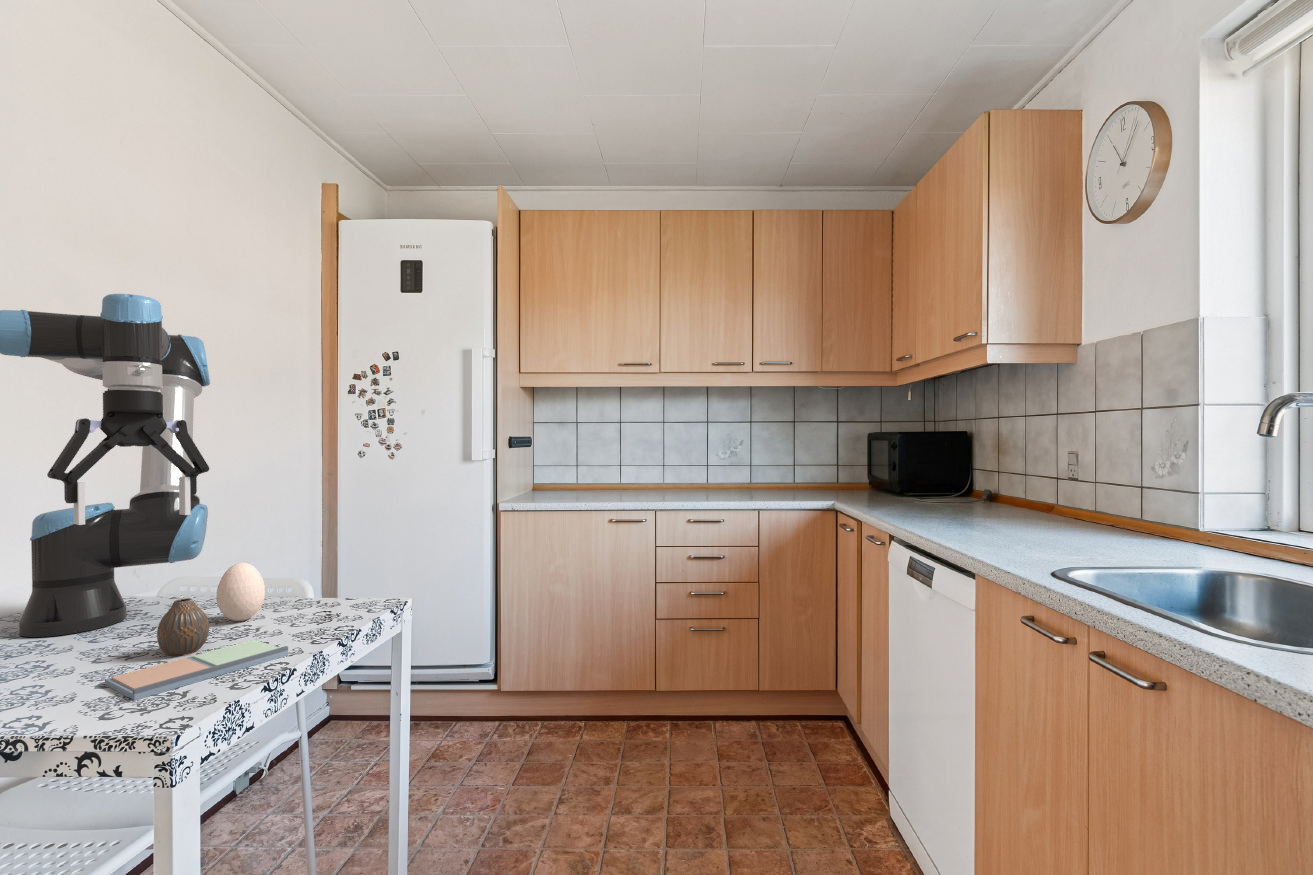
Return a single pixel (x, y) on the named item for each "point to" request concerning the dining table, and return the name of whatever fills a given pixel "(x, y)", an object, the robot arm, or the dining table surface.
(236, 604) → the egg
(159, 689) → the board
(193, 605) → the vase
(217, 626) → the dining table surface
